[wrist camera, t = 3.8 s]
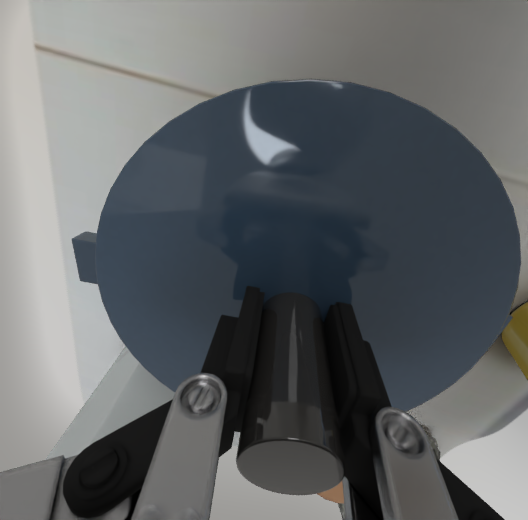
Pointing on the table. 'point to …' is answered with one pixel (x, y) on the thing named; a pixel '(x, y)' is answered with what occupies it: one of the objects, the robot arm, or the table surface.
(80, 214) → the table surface
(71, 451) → the white packaging box
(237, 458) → the pot lid
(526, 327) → the flower pot
